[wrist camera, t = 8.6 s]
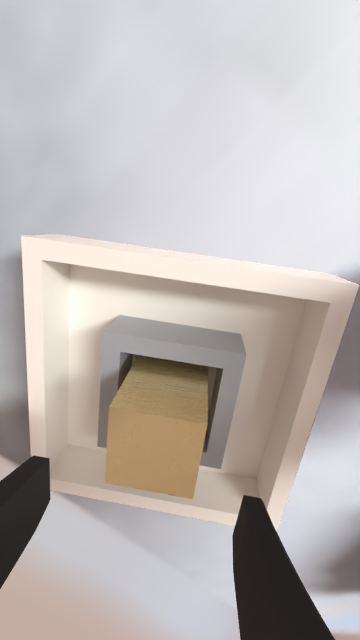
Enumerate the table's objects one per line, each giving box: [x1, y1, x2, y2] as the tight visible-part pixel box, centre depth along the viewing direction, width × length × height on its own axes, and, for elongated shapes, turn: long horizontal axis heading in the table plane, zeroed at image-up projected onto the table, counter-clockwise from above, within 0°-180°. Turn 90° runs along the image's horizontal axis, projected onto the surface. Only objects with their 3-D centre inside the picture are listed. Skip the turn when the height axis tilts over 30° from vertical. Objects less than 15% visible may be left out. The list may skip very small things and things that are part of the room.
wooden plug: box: [105, 355, 208, 499], centre depth 15 cm, size 4×4×7 cm
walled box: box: [21, 234, 360, 532], centre depth 18 cm, size 16×16×4 cm
